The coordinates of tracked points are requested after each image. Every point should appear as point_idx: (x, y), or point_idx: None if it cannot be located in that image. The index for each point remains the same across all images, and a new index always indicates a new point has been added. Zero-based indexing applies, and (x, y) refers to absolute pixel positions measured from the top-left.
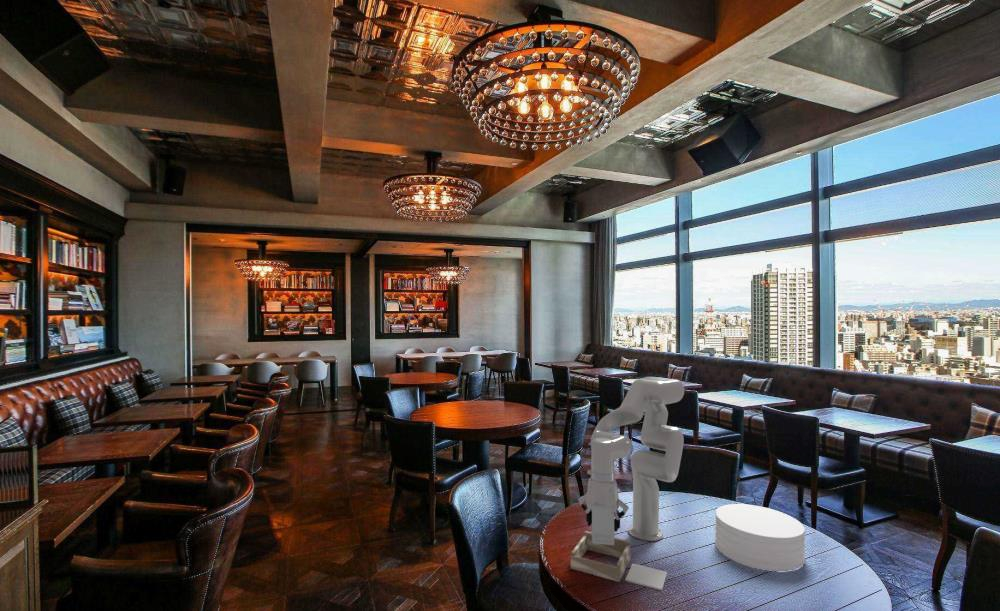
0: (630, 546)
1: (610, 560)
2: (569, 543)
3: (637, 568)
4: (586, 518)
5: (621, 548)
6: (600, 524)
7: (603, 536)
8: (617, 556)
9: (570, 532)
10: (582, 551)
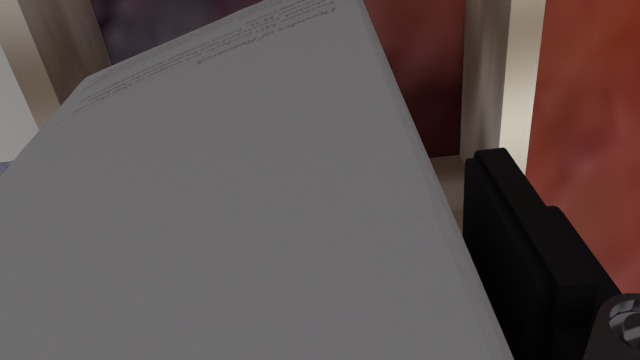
0: None
1: None
2: (610, 162)
3: (4, 104)
4: (577, 236)
5: None
6: (197, 128)
7: (183, 56)
8: None
9: (628, 290)
10: (475, 52)
